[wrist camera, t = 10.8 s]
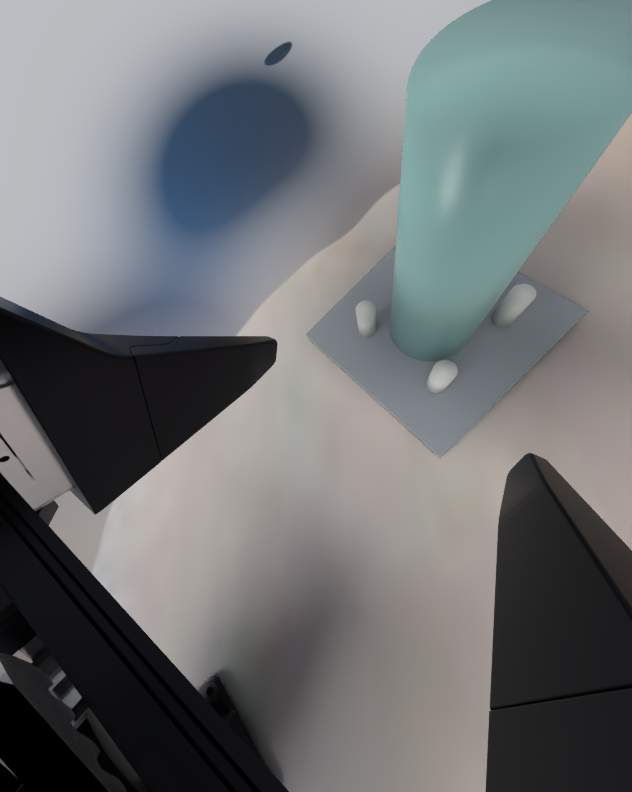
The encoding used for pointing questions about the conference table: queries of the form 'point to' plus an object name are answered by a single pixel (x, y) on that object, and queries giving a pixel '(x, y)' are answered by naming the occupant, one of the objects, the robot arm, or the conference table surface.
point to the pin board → (449, 378)
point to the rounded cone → (498, 153)
